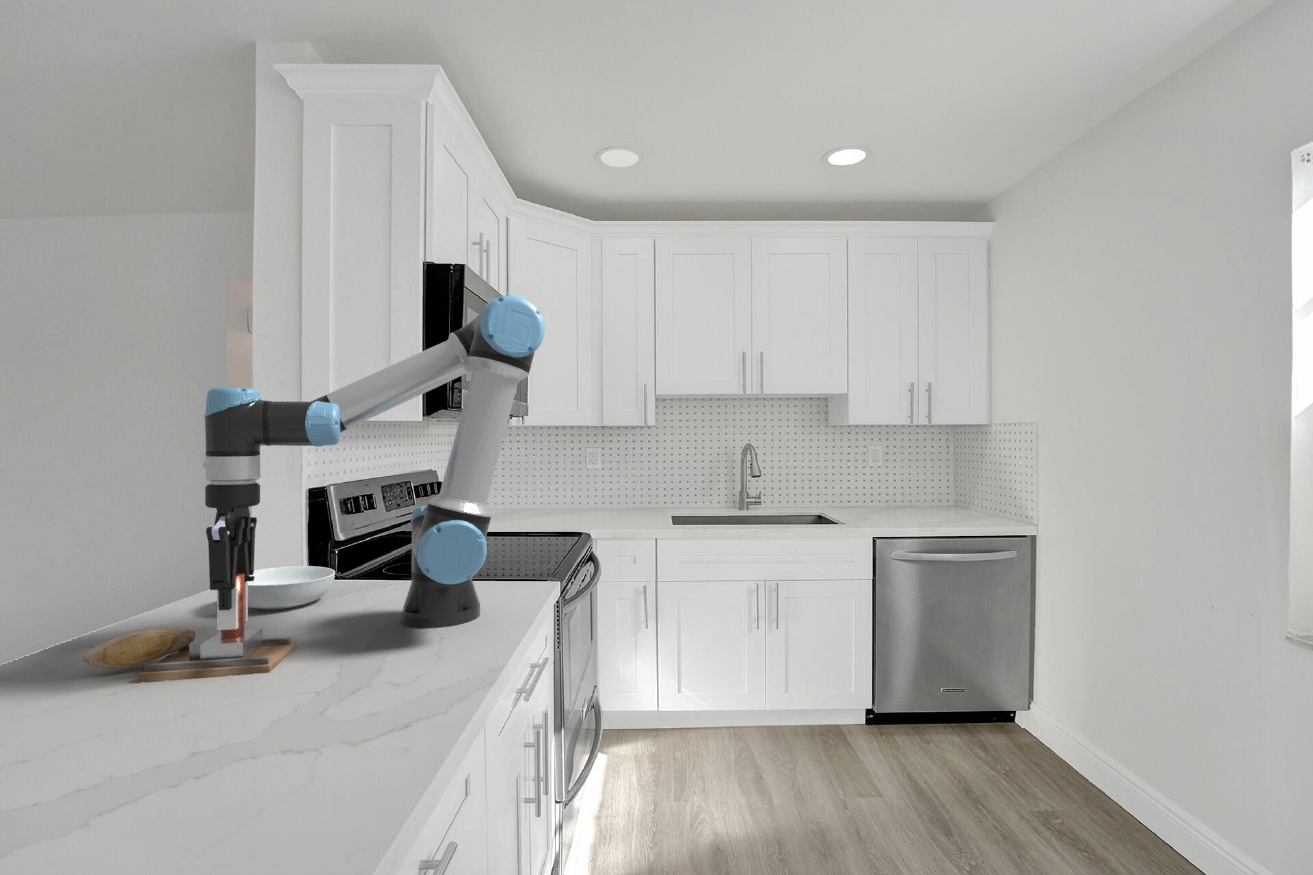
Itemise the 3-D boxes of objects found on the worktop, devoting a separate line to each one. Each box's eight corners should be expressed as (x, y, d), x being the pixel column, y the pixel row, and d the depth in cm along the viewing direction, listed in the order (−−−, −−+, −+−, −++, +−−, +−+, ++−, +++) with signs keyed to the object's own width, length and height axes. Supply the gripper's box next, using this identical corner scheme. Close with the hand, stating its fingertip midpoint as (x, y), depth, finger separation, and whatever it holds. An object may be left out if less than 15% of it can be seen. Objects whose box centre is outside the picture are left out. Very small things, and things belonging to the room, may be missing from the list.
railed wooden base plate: (295, 650, 113) (295, 636, 113) (269, 675, 101) (269, 659, 101) (178, 657, 109) (178, 642, 109) (138, 683, 97) (138, 667, 97)
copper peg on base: (262, 645, 110) (262, 569, 110) (242, 661, 102) (243, 579, 102) (209, 648, 108) (210, 571, 108) (185, 664, 101) (186, 581, 101)
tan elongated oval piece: (192, 618, 107) (192, 619, 110) (78, 644, 98) (82, 644, 102) (197, 649, 106) (196, 649, 110) (83, 679, 98) (86, 678, 101)
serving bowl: (303, 618, 133) (303, 585, 133) (202, 618, 133) (202, 584, 133) (352, 594, 154) (352, 565, 154) (265, 593, 154) (265, 564, 154)
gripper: (229, 479, 113) (228, 613, 113) (181, 486, 97) (181, 642, 97) (276, 478, 114) (276, 611, 114) (237, 485, 98) (237, 639, 98)
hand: (232, 625), depth 106 cm, fingers closed on copper peg on base, 3 cm apart
